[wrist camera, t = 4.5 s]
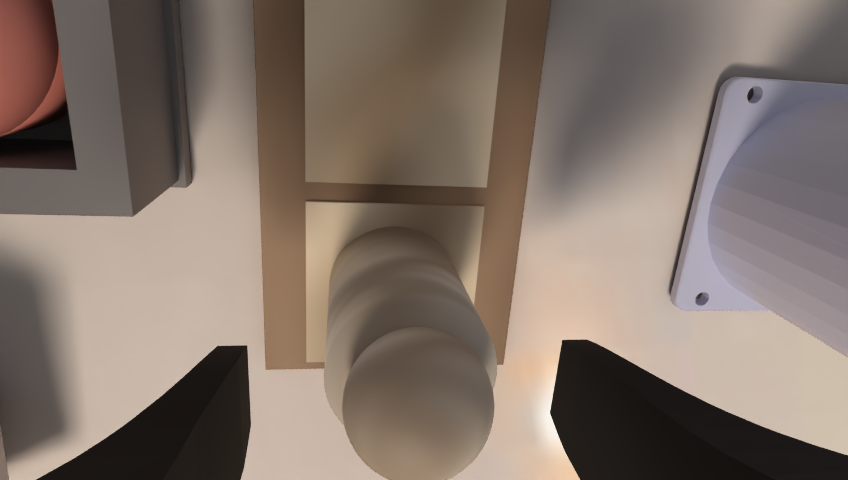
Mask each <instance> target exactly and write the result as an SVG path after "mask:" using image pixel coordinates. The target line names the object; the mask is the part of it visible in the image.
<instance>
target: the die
mask: <svg viewBox="0 0 848 480" xmlns="http://www.w3.org/2000/svg"><path fill="white" fill-rule="evenodd" d="M0 480H9V476H8V470H7V464H6V457H5V451H4V445H3V438H2V432H1V426H0Z"/></svg>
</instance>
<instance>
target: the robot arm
mask: <svg viewBox="0 0 848 480" xmlns="http://www.w3.org/2000/svg"><path fill="white" fill-rule="evenodd" d="M751 88H753V90H754V94H753V96H752V98H751V99H750V100H749V101H748V99H747V94H748V92H749V90H750V89H751ZM700 293H702V295H701V297H700V298H699V299H698V300H695V299H696V297H697V295H698V294H700ZM670 300H671V302H672V304H673V305H675V306H676V307H677V308H678V309H680V310H682V311H772V312H774V313H776V314H777V315H779V316H780V317H782V318H784V319H785V320H787V321H789V322H790V323H792V324H794V325H795V326H797V327H799V328H800V329H802V330H803V331H805V332H807V333H808V334H810V335H812V336H813V337H815V338H817V339H818V340H820V341H822V342H823V343H825V344H826V345H828V346H830V347H831V348H833V349H835V350H836V351H838V352H840V353H841V354H843V355H845V356H846V357H848V84H836V83H822V82H808V81H793V80H779V79H765V78H751V77H731V78H729V79H728V80H726V81H725V82H724V83H723V84H722V86H721V88H720V90H719V93H718V97H717V101H716V106H715V110H714V114H713V118H712V122H711V127H710V131H709V135H708V139H707V144H706V148H705V152H704V156H703V160H702V165H701V169H700V173H699V177H698V182H697V186H696V190H695V194H694V198H693V203H692V207H691V211H690V215H689V219H688V224H687V228H686V232H685V236H684V241H683V245H682V249H681V253H680V257H679V262H678V266H677V270H676V274H675V279H674V283H673V287H672V291H671V299H670ZM550 414H551V416H552V419H553V422H554V425H555V427H556V430H557V433H558V435H559V438H560V440H561V443H562V445H563V448H564V450H565V452H566V454H567V456H568V458H569V460H570V462H571V463H572V465H573V467H574V469H575V471H576V472H577V474H578V476H579V478H580V480H848V455H844V454H841V453H838V452H834V451H831V450H828V449H825V448H821V447H818V446H815V445H812V444H809V443H806V442H803V441H801V440H798V439H795V438H792V437H789V436H786V435H783V434H780V433H778V432H775V431H772V430H770V429H767V428H764V427H762V426H759V425H757V424H754V423H752V422H750V421H747V420H745V419H743V418H740V417H738V416H735V415H733V414H731V413H728V412H726V411H724V410H722V409H719V408H717V407H715V406H713V405H711V404H709V403H707V402H705V401H703V400H701V399H699V398H697V397H695V396H693V395H690V394H688V393H686V392H684V391H682V390H681V389H679V388H677V387H675V386H673V385H671V384H669V383H667V382H665V381H664V380H662V379H660V378H658V377H656V376H655V375H653V374H651V373H649V372H647V371H645V370H644V369H642V368H640V367H638V366H637V365H635V364H633V363H631V362H629V361H628V360H626V359H624V358H622V357H620V356H619V355H617V354H615V353H613V352H611V351H609V350H608V349H606V348H604V347H602V346H600V345H598V344H596V343H593V342H591V341H589V340H562V346H561V352H560V358H559V364H558V370H557V375H556V381H555V387H554V393H553V399H552V405H551V411H550ZM250 427H251V419H250V397H249V375H248V354H247V346H217V347H216V348H215V349H214V350H213V351H212V352H210V353H209V354H208V355H207V356H206V357H205V358H204V359H203V360H202V361H200V362H199V363H198V364H197V365H196V366H195V367H194V368H193V369H192V370H191V371H190V372H188V373H187V374H186V375H185V376H184V377H183V378H182V379H181V380H180V381H178V382H177V383H176V384H175V385H174V386H173V387H172V388H170V389H169V390H168V391H167V392H166V393H165V394H164V395H162V396H161V397H160V398H159V399H157V400H156V401H155V402H154V403H152V404H151V405H150V406H149V407H147V408H146V409H145V410H143V411H142V412H141V413H140V414H138V415H137V416H136V417H135V418H133V419H132V420H131V421H129V422H128V423H127V424H125V425H124V426H123V427H121V428H120V429H118V430H117V431H116V432H114V433H113V434H111V435H110V436H108V437H107V438H105V439H104V440H102V441H101V442H99V443H98V444H96V445H95V446H93V447H92V448H90V449H88V450H87V451H85V452H84V453H82V454H81V455H79V456H77V457H76V458H74V459H72V460H71V461H69V462H67V463H65V464H64V465H62V466H60V467H58V468H56V469H55V470H53V471H51V472H49V473H47V474H46V475H44V476H42V477H40V478H38V479H37V480H240V479H241V476H242V472H243V469H244V464H245V458H246V452H247V446H248V440H249V433H250Z"/></svg>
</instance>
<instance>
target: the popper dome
mask: <svg viewBox="0 0 848 480" xmlns="http://www.w3.org/2000/svg"><path fill="white" fill-rule="evenodd" d="M66 113H68V105H67V98H66V91H65V84H64V77H63V70H62V64H61V57H60V50H59V43H58V36H57V29H56V22H55V15H54V9H53V2H52V0H0V137H2V136H6V135H10V134H14V133H18V132H22V131H26V130H29V129H33V128H37V127H40V126H44V125H46V124H48V123H51V122H53V121H55V120H57V119H59V118H60V117H62V116H63V115H65V114H66Z"/></svg>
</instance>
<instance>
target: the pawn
mask: <svg viewBox="0 0 848 480" xmlns="http://www.w3.org/2000/svg"><path fill="white" fill-rule="evenodd" d="M496 375H497V357H496V352H495V348H494V345H493V342H492V340H491V338H490V335H489V333H488V332H487V330H486V328H485V326H484V324H483V322H482V320H481V318H480V316H479V314H478V312H477V310H476V308H475V306H474V304H473V303H472V301H471V299H470V297H469V295H468V293H467V291H466V289H465V287H464V285H463V283H462V281H461V279H460V277H459V275H458V274H457V272H456V270H455V268H454V266H453V264H452V262H451V260H450V258H449V256H448V255H447V253H446V251H445V250H444V249H443V248H442V247H441V245H440V244H439V243H437V242H436V241H435V240H434V239H433V238H431V237H430V236H428V235H426V234H424V233H422V232H420V231H417V230H415V229H411V228H406V227H384V228H379V229H375V230H372V231H369V232H367V233H365V234H363V235H361V236H359V237H358V238H356V239H355V240H353V241H352V242H351V243H350V244H348V245H347V247H346V248H345V249H344V250H343V251H342V252H341V253H340V255H339V256H338V258H337V260H336V261H335V263H334V266H333V268H332V271H331V275H330V281H329V296H328V315H327V333H326V351H325V369H324V385H325V392H326V396H327V399H328V402H329V404H330V407H331V408H332V410H333V412H334V414H335V415H336V416H337V418H338V419H339V420H340V421H341V423H342V424H343V425H344V426H345V430H346V433H347V435H348V438H349V440H350V443H351V444H352V446H353V448H354V449H355V451H356V453H357V454H358V456H359V457H360V458H361V459H362V460H363V461H364V463H365V464H366V465H367V466H369V467H370V468H371V469H372V470H373V471H375V472H376V473H378V474H379V475H381V476H383V477H384V478H386V479H389V480H447V479H450V478H452V477H453V476H455V475H457V474H458V473H460V472H461V471H463V470H464V469H465V468H466V467H467V466H469V465H470V464H471V463H472V462H473V461H474V459H475V458H476V457H477V456H478V454H479V453H480V451H481V450H482V448H483V447H484V445H485V443H486V441H487V439H488V436H489V433H490V430H491V427H492V423H493V416H494V397H493V387H494V384H495V380H496Z"/></svg>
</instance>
